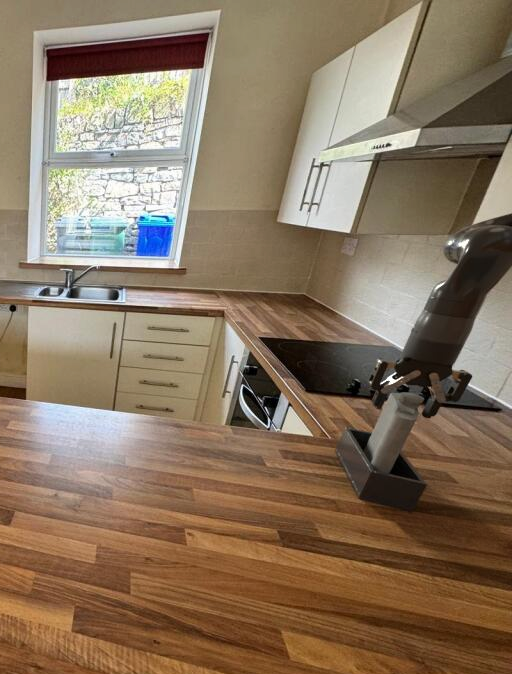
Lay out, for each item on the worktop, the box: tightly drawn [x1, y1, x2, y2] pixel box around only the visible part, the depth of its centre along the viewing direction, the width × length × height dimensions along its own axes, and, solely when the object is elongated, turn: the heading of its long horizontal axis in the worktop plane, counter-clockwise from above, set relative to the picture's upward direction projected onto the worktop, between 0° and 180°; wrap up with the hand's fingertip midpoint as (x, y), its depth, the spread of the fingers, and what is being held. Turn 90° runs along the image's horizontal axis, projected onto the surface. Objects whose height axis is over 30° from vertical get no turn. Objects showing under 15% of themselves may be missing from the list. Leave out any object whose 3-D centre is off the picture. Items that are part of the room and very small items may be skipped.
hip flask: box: [364, 391, 425, 474], centre depth 86 cm, size 16×4×20 cm, turn 141°
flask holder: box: [334, 426, 428, 513], centre depth 89 cm, size 9×21×7 cm, turn 153°
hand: (400, 412), depth 83 cm, fingers open, 7 cm apart
